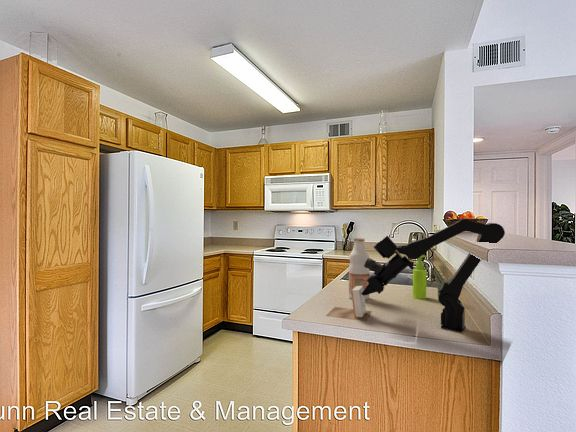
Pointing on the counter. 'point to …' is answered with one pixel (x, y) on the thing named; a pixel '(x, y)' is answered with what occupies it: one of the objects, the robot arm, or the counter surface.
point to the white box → (358, 301)
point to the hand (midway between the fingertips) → (362, 294)
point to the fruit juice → (358, 267)
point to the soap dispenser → (419, 280)
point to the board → (347, 314)
